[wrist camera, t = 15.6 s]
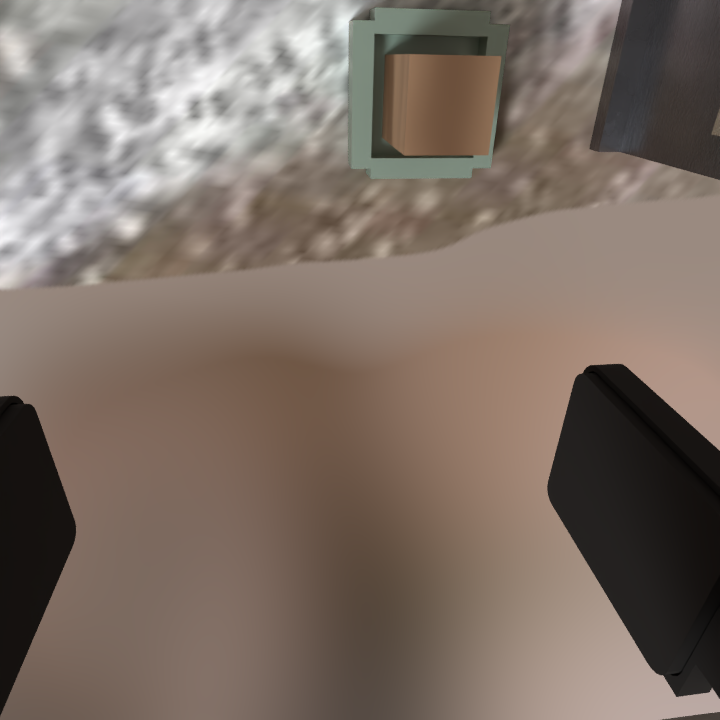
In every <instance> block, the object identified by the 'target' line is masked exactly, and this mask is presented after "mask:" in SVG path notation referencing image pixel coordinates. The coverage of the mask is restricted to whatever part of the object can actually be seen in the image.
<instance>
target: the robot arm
mask: <svg viewBox="0 0 720 720" xmlns="http://www.w3.org/2000/svg"><path fill="white" fill-rule="evenodd" d="M547 487H548V496H549V499H550V502H551V504H552V506H553V507H554V509H555V510H556V512H557V514H558V515H559V517H560V519H561V520H562V522H563V524H564V525H565V527H566V529H567V530H568V532H569V533H570V535H571V537H572V539H573V540H574V542H575V543H576V545H577V547H578V549H579V550H580V552H581V554H582V555H583V557H584V558H585V560H586V562H587V563H588V565H589V567H590V568H591V570H592V572H593V573H594V575H595V577H596V578H597V580H598V582H599V583H600V585H601V587H602V588H603V590H604V592H605V593H606V595H607V597H608V598H609V600H610V602H611V603H612V605H613V607H614V608H615V610H616V611H617V613H618V615H619V616H620V618H621V620H622V621H623V623H624V625H625V626H626V628H627V630H628V631H629V633H630V635H631V636H632V638H633V640H634V641H635V643H636V645H637V646H638V648H639V650H640V651H641V653H642V654H643V656H644V658H645V660H646V661H647V663H648V664H649V666H650V667H651V668H652V670H654V671H655V672H656V673H657V674H659V675H663V676H664V677H665V679H666V681H667V682H668V684H669V685H670V687H671V688H672V690H673V692H674V694H675V695H676V697H679V696H686V695H693V694H701V693H708V692H710V690H711V688H713V690H714V691H715V692H716V694H717V695H718V697H719V698H720V451H719V450H718V449H717V448H716V447H715V446H713V444H711V443H710V442H709V441H708V440H707V439H706V438H705V437H704V436H703V435H701V434H700V433H699V432H698V431H697V430H696V429H695V428H694V427H693V426H691V425H690V424H689V423H688V422H687V421H686V420H685V419H684V418H683V417H681V416H680V415H679V414H678V413H677V412H676V411H675V410H674V409H673V408H671V407H670V406H669V405H668V404H667V403H666V402H665V401H664V400H663V399H661V398H660V397H659V396H658V395H657V394H656V393H655V392H653V390H651V389H650V388H649V387H648V386H647V385H646V384H645V383H644V382H643V381H641V380H640V379H639V378H638V377H637V376H636V375H635V374H634V373H632V372H631V371H630V370H629V369H628V368H627V367H626V366H624V365H622V364H607V365H590V366H588V367H587V368H586V369H585V370H584V372H583V374H579V375H578V376H577V377H576V378H575V381H574V385H573V388H572V392H571V396H570V400H569V404H568V407H567V411H566V415H565V419H564V423H563V427H562V431H561V434H560V438H559V442H558V446H557V450H556V453H555V457H554V461H553V465H552V469H551V473H550V476H549V480H548V486H547ZM75 536H76V525H75V520H74V518H73V514H72V512H71V509H70V506H69V503H68V501H67V497H66V495H65V492H64V489H63V486H62V483H61V480H60V478H59V475H58V472H57V469H56V467H55V463H54V461H53V458H52V455H51V452H50V450H49V446H48V444H47V441H46V438H45V435H44V432H43V429H42V426H41V424H40V421H39V418H38V415H37V413H36V410H35V408H34V407H33V406H32V405H30V404H24V403H23V401H22V400H21V399H20V398H19V397H17V396H2V397H0V715H1V713H2V711H3V708H4V706H5V703H6V701H7V699H8V696H9V694H10V692H11V689H12V687H13V685H14V682H15V680H16V678H17V675H18V673H19V671H20V668H21V666H22V664H23V661H24V659H25V657H26V654H27V652H28V650H29V647H30V645H31V643H32V640H33V638H34V636H35V633H36V631H37V629H38V626H39V624H40V622H41V619H42V617H43V614H44V612H45V610H46V607H47V605H48V603H49V600H50V598H51V596H52V593H53V591H54V589H55V586H56V584H57V582H58V579H59V577H60V575H61V572H62V570H63V568H64V565H65V563H66V560H67V558H68V556H69V554H70V551H71V549H72V546H73V544H74V541H75ZM663 720H720V712H717V713H708V714H701V715H693V716H685V717H678V718H671V719H663Z"/></svg>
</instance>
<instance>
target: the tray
mask: <svg viewBox="0 0 720 720" xmlns="http://www.w3.org/2000/svg"><path fill="white" fill-rule="evenodd" d="M490 15H491V11H470V10H440V9H409V8H378V7H375V8H373V9H371V10H370V20H352V21H350V22H349V90H348V164H349V165H350V167H351V169H366V173H367V174H368V176H369V177H370V179H399V178H471V176H472V168H491V161H492V154H493V147H494V139H495V132H496V124H497V117H498V110H499V102H500V95H501V87H502V80H503V73H504V65H505V58H506V50H507V43H508V36H509V28H510V25H506V24H490ZM391 54H427V55H471V56H502V57H501V64H500V72H499V79H498V87H497V95H496V102H495V110H494V117H493V125H492V132H491V140H490V148H489V155H410V156H404V155H403V154H402V153H400V152H399V151H398V150H397V149H395V148H394V147H393V146H392V145H390V144H389V143H388V142H387V141H386V140H384V139H383V138H382V118H383V91H384V63H385V55H391Z"/></svg>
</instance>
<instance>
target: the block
mask: <svg viewBox="0 0 720 720" xmlns="http://www.w3.org/2000/svg"><path fill="white" fill-rule="evenodd" d="M501 57H502V56H471V55H427V54H391V55H385V63H384V91H383V118H382V138H383V139H384V140H386V141H387V142H388V143H389V144H390V145H392V146H393V147H394V148H395V149H397V150H398V151H399V152H400V153H402V154H403V155H404V156H410V155H489V148H490V140H491V132H492V125H493V117H494V110H495V102H496V95H497V87H498V79H499V72H500V64H501Z"/></svg>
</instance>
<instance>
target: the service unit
mask: <svg viewBox="0 0 720 720" xmlns="http://www.w3.org/2000/svg"><path fill="white" fill-rule="evenodd" d="M590 149H591V150H594V151H598V152H622V153H626V154H630V155H633V156H637V157H640V158H644V159H647V160H651V161H654V162H658V163H662V164H665V165H669V166H672V167H676V168H679V169H683V170H686V171H690V172H694V173H697V174H701V175H704V176H708V177H711V178H715V179H719V180H720V0H622V4H621V8H620V13H619V17H618V22H617V26H616V31H615V35H614V40H613V44H612V49H611V53H610V58H609V63H608V67H607V72H606V76H605V81H604V85H603V90H602V94H601V99H600V103H599V108H598V112H597V117H596V121H595V126H594V131H593V135H592V140H591V144H590Z"/></svg>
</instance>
